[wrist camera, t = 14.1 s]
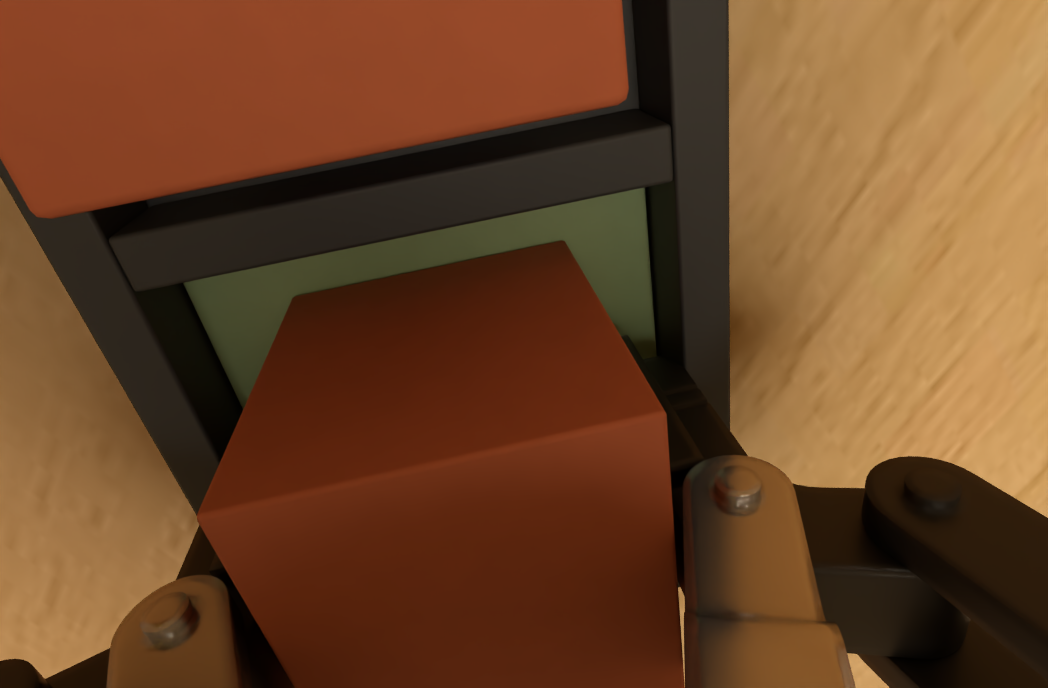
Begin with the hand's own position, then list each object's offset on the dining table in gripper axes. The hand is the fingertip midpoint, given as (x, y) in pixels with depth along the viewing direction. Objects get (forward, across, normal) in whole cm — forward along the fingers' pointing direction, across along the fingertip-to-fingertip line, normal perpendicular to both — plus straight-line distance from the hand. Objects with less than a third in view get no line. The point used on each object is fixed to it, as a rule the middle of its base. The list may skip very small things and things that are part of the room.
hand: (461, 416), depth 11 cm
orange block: (0, 0, 0) cm, 0 cm away
